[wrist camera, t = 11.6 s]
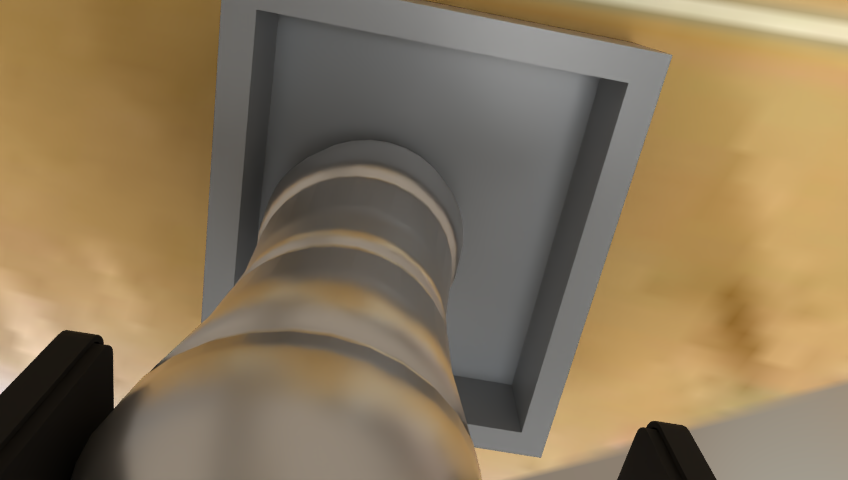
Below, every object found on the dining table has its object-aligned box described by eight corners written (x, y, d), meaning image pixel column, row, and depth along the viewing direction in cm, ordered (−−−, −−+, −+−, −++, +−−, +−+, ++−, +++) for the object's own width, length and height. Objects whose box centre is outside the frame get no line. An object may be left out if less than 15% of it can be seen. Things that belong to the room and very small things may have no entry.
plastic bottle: (482, 260, 24) (646, 1164, 6) (318, 310, 25) (6, 1233, 7) (427, 99, 22) (403, 739, 3) (249, 161, 23) (-519, 930, 4)
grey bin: (259, -34, 21) (223, -36, 18) (632, 42, 22) (672, 55, 18) (228, 344, 27) (196, 402, 23) (526, 393, 28) (540, 457, 24)
